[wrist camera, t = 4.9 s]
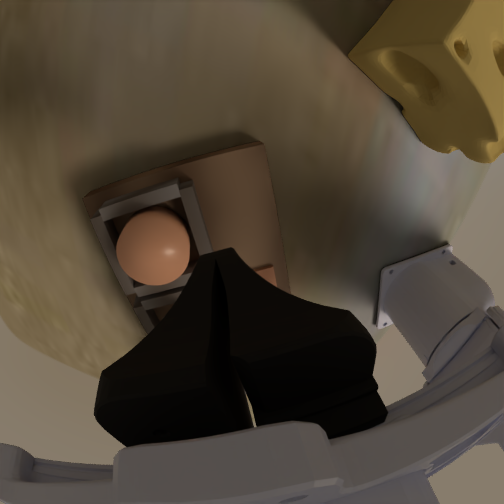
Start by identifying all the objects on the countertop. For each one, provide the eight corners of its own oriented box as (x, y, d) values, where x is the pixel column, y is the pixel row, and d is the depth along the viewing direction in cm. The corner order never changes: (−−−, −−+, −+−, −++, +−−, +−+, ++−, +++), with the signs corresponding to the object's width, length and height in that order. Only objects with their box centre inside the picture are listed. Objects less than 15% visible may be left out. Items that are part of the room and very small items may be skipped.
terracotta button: (178, 197, 17) (176, 209, 15) (198, 258, 19) (198, 275, 18) (113, 218, 17) (104, 231, 15) (138, 275, 19) (133, 292, 17)
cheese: (422, 147, 20) (516, 186, 12) (335, 52, 16) (435, 32, 7) (469, 73, 17) (555, 88, 9) (398, -18, 13) (488, -42, 4)
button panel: (259, 140, 18) (270, 147, 16) (297, 359, 29) (306, 381, 27) (89, 191, 18) (74, 206, 15) (188, 386, 29) (190, 409, 26)
